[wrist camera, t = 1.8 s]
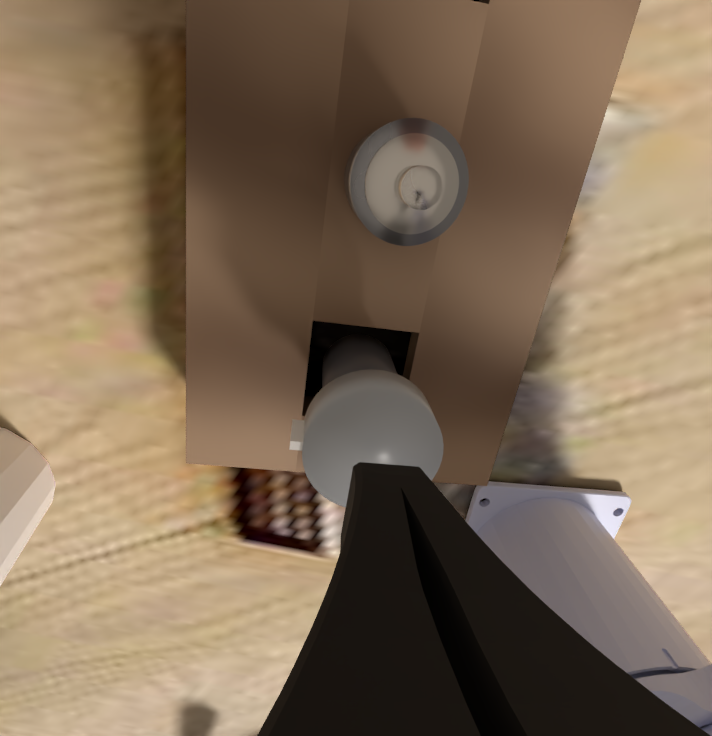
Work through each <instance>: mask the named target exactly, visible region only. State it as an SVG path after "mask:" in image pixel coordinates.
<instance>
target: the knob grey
mask: <svg viewBox="0 0 712 736" xmlns="http://www.w3.org/2000/svg"><path fill="white" fill-rule="evenodd" d="M443 446H444V445H443V437H442V433H441V430H440V428H439V425H438V423H437V421H436V419H435V417H434V414H433V412H432V410H431V408H430V406H429V403H428V401H427V399H426V397H425V396H424V394H423V393H422V392H421V391H420V389H419V388H418V387H417V386H416V385H414V384H413V383H412V382H411V381H409V380H408V379H406V378H404V377H402V376H400V375H398V374H397V372H396V369H395V366H394V364H393V361H392V358H391V355H390V353H389V351H388V349H387V348H386V346H385V345H384V344H383V343H382V342H380V341H379V340H378V339H376V338H374V337H372V336H369V335H364V334H352V335H348V336H345V337H342V338H340V339H339V340H337V341H335V342H334V343H333V344H332V345H331V346H330V347H329V349H328V350H327V351H326V353H325V355H324V358H323V363H322V389H321V390H320V391H319V392H318V393H317V394H316V396H315V397H314V398H313V400H312V401H311V403H310V405H309V407H308V409H307V412H306V415H305V420H292V429H291V439H290V448H289V450H300V451H302V460H303V466H304V470H305V473H306V475H307V477H308V479H309V481H310V482H311V484H312V485H313V487H314V488H315V489H316V490H317V491H318V492H319V493H320V494H321V495H323V496H324V497H325V498H327V499H328V500H330V501H331V502H334V503H336V504H338V505H340V506H343V507H346V504H347V498H348V493H349V487H350V481H351V475H352V469H353V466H354V465H356V464H357V463H359V462H365V463H378V464H391V465H404V466H416V467H420V468H421V469H422V470H423V471H424V473H425V474H426V475H427V476H428V477H429V479H430V480H431V481H432V480H433V478H434V477H435V475H436V473H437V471H438V469H439V467H440V464H441V461H442V457H443Z"/></svg>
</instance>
